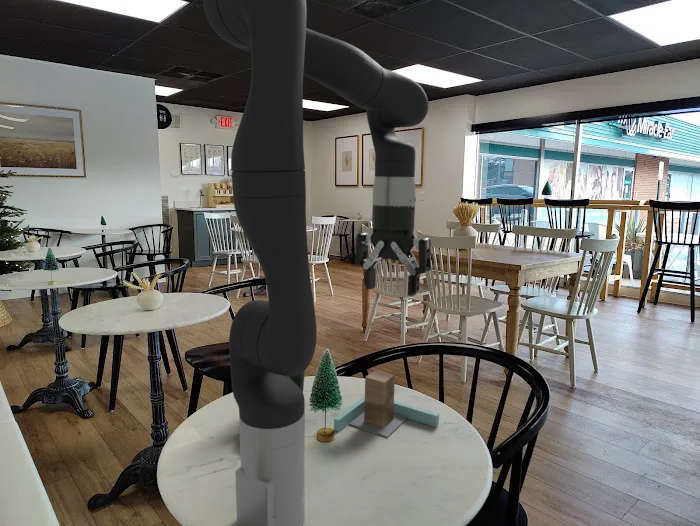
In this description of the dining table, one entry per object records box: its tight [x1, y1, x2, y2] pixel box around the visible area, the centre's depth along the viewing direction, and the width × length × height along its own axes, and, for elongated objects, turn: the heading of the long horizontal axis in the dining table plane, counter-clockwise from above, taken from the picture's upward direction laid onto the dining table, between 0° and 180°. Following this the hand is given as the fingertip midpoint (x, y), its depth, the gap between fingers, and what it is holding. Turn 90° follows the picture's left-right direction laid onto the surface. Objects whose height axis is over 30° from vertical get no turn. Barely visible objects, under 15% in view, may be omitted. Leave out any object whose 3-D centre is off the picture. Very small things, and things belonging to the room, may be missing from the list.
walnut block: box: [364, 369, 396, 428], centre depth 98 cm, size 4×4×10 cm
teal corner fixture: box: [333, 395, 440, 439], centre depth 96 cm, size 14×17×2 cm
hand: (390, 291), depth 86 cm, fingers open, 8 cm apart
